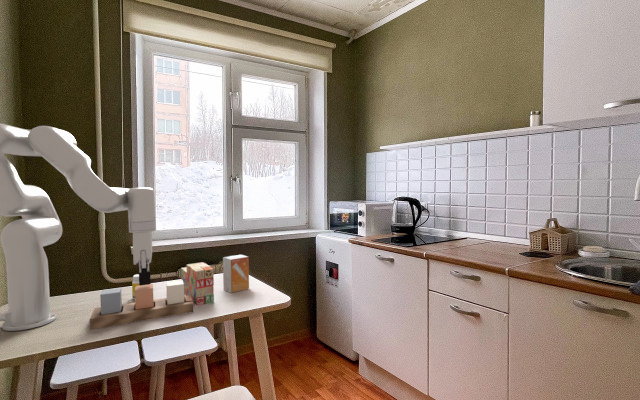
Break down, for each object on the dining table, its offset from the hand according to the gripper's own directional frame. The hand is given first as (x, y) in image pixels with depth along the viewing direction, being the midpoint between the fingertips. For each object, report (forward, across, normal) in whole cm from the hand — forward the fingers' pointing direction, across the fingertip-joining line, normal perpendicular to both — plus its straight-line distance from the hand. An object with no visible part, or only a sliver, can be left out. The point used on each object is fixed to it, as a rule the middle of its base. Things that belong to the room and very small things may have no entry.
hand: (145, 284), depth 108 cm
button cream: (+7, 0, +9) cm, 11 cm away
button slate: (+7, 0, -9) cm, 12 cm away
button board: (+10, 0, 0) cm, 10 cm away
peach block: (+7, 0, 0) cm, 7 cm away
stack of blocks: (+10, -12, +17) cm, 23 cm away
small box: (+10, -14, +32) cm, 36 cm away
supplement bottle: (+10, -21, -2) cm, 23 cm away
